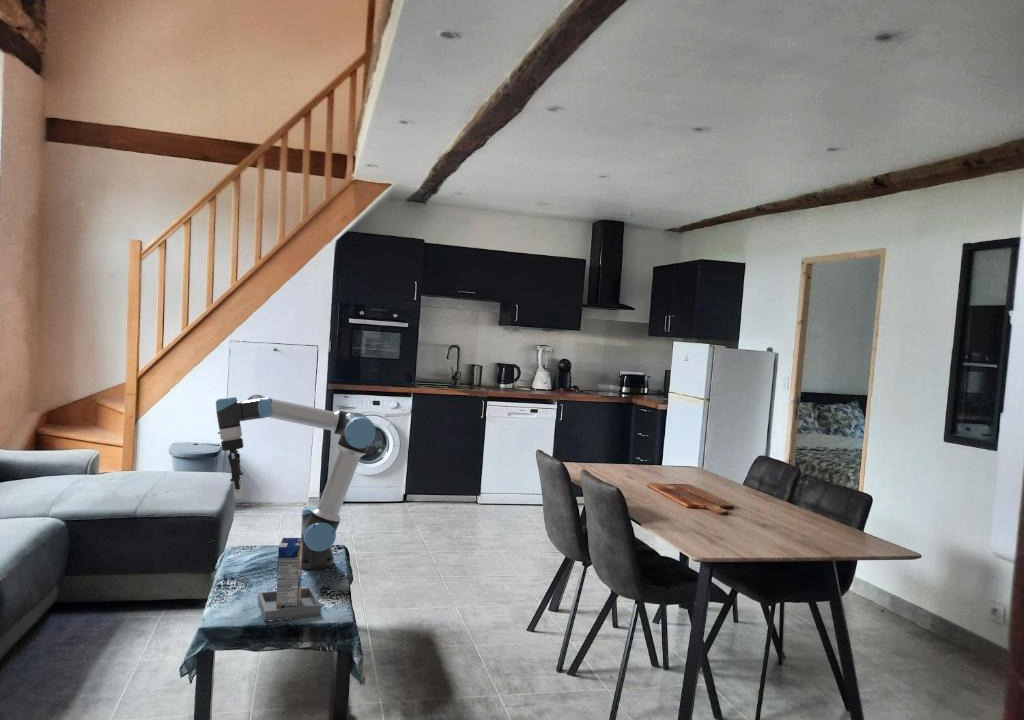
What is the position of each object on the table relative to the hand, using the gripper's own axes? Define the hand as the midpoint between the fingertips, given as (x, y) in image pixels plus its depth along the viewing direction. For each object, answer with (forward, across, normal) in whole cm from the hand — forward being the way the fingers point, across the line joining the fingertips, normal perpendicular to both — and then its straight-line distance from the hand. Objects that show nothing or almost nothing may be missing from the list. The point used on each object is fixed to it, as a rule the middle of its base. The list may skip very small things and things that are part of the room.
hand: (239, 495), depth 271 cm
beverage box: (+37, +27, +12) cm, 47 cm away
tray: (+38, +27, +12) cm, 48 cm away
